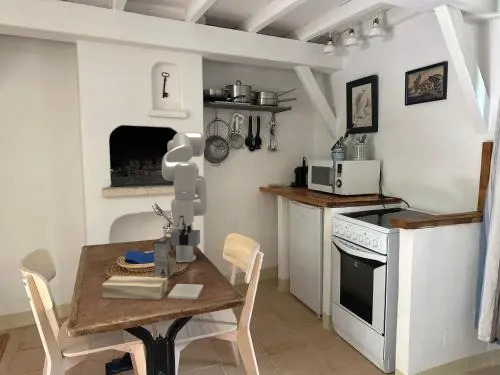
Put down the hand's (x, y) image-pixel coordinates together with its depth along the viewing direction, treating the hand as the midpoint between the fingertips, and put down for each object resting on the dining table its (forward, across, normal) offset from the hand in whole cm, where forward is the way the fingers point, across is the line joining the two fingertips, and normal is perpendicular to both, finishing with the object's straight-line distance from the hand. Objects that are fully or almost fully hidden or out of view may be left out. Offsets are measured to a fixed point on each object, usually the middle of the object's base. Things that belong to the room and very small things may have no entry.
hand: (185, 242), depth 129 cm
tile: (+20, 0, 0) cm, 20 cm away
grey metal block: (+1, 0, 0) cm, 1 cm away
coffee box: (+20, -17, -14) cm, 30 cm away
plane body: (+20, +3, -19) cm, 28 cm away
